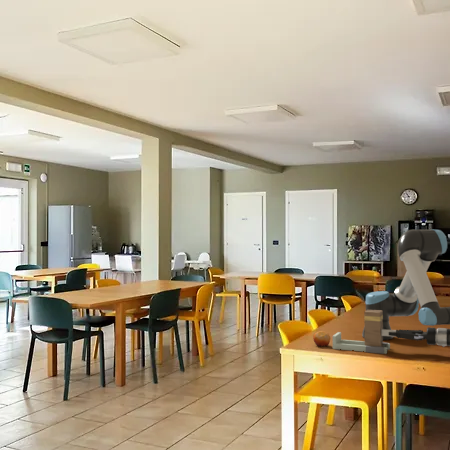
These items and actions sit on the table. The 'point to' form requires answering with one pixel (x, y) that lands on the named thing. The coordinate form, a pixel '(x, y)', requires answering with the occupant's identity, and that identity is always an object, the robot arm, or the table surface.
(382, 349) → the chute
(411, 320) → the table surface
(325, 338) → the fruit
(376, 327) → the block
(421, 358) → the table surface
